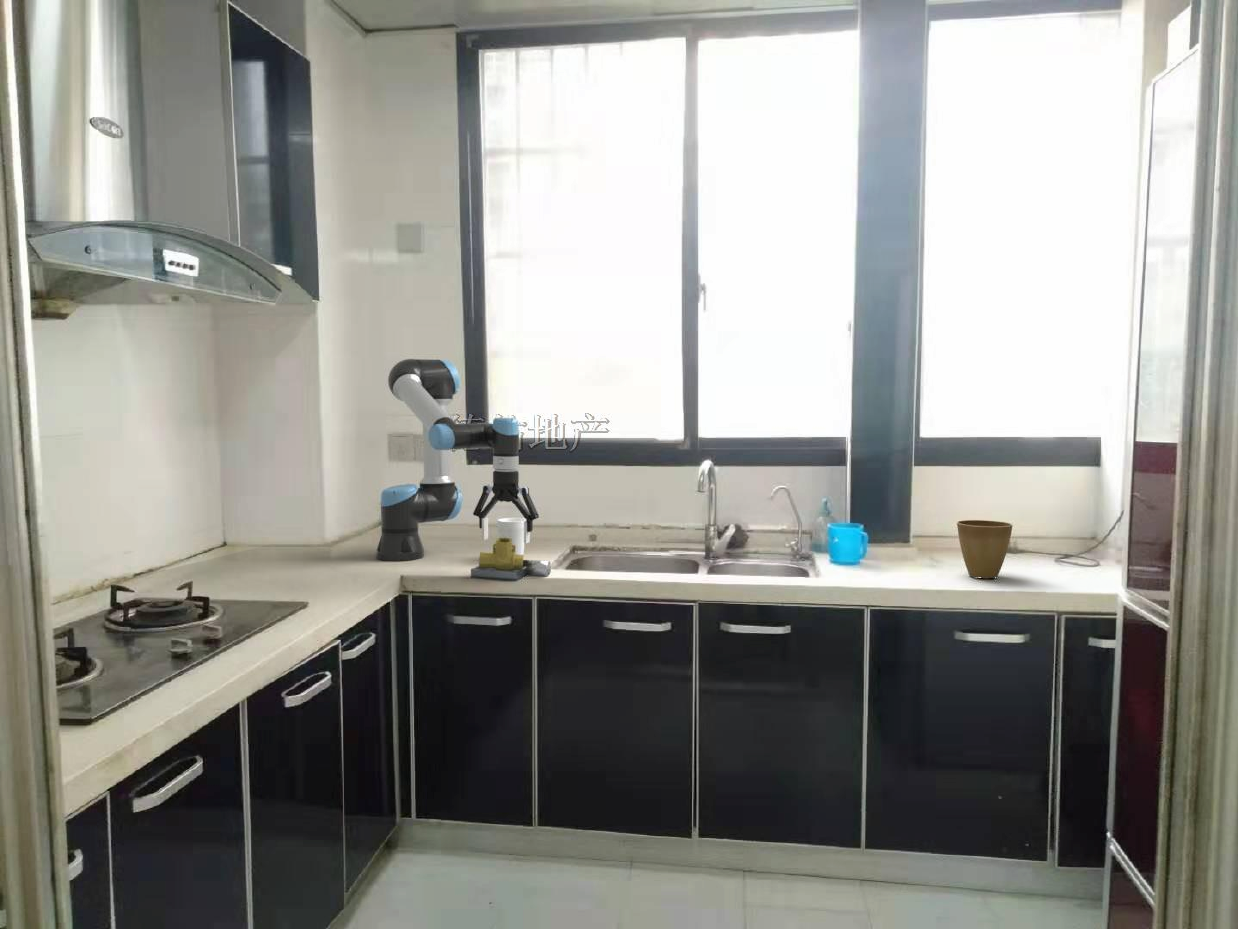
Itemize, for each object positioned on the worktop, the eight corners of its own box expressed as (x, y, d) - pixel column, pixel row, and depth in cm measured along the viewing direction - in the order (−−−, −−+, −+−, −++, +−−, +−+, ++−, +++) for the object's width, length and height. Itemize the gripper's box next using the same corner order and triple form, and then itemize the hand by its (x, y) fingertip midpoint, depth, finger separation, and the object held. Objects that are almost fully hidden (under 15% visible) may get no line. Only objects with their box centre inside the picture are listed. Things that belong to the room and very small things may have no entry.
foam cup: (530, 561, 267) (530, 521, 266) (502, 563, 264) (501, 522, 263) (522, 556, 276) (522, 517, 275) (495, 558, 273) (494, 518, 272)
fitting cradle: (471, 577, 243) (470, 562, 243) (497, 565, 260) (497, 552, 260) (536, 582, 237) (536, 567, 237) (559, 570, 254) (559, 555, 254)
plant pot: (1018, 577, 245) (1020, 522, 244) (998, 585, 234) (1000, 528, 233) (967, 569, 255) (969, 517, 254) (946, 576, 245) (948, 522, 244)
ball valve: (521, 577, 245) (523, 564, 254) (524, 544, 242) (525, 532, 251) (478, 574, 243) (481, 561, 253) (480, 541, 241) (483, 529, 250)
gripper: (461, 469, 247) (462, 540, 249) (539, 473, 240) (539, 546, 242) (473, 467, 254) (473, 536, 256) (549, 470, 247) (549, 541, 249)
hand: (505, 541), depth 249 cm, fingers open, 13 cm apart
